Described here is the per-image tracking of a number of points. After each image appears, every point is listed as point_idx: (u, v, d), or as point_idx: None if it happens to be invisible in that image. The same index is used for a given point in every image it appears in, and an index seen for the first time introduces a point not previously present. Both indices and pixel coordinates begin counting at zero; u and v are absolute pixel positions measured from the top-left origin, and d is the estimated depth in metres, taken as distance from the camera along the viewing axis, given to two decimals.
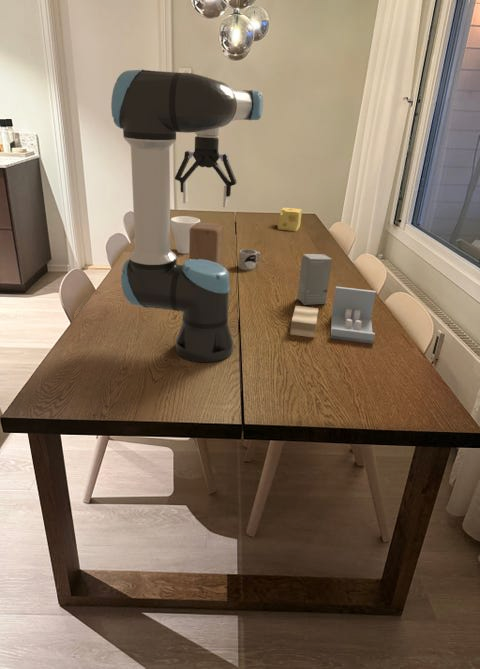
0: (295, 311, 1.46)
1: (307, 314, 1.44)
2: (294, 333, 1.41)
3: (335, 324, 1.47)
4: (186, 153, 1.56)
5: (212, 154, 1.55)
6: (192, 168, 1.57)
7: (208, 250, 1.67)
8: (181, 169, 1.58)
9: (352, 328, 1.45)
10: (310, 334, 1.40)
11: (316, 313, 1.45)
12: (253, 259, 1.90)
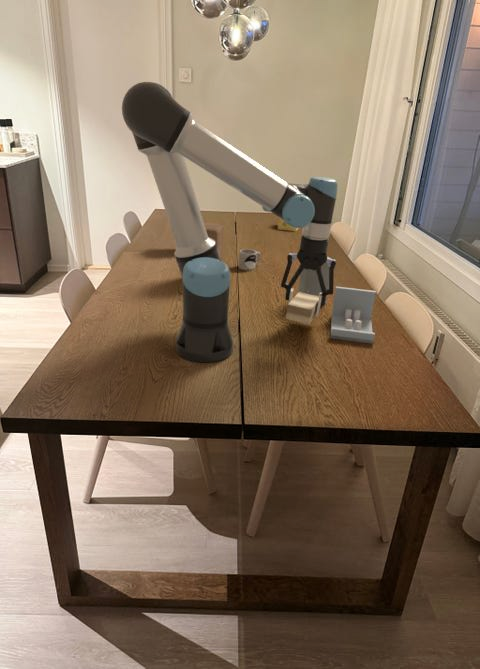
0: (296, 296, 1.44)
1: (306, 301, 1.42)
2: (290, 317, 1.39)
3: (335, 324, 1.47)
4: (289, 257, 1.36)
5: (321, 256, 1.35)
6: (298, 273, 1.38)
7: None
8: (286, 275, 1.39)
9: (352, 328, 1.45)
10: (305, 320, 1.38)
11: (316, 300, 1.43)
12: (253, 259, 1.90)
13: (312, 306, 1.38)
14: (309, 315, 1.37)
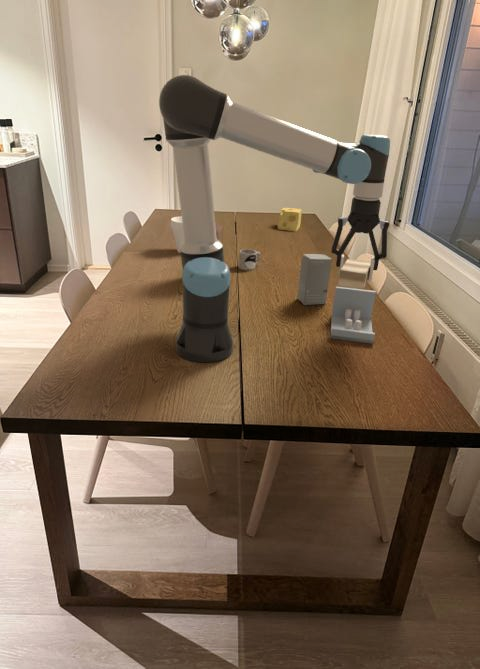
0: (346, 263, 1.40)
1: (358, 266, 1.38)
2: (342, 283, 1.35)
3: (335, 324, 1.47)
4: (340, 221, 1.32)
5: (373, 218, 1.30)
6: (349, 237, 1.34)
7: None
8: (337, 240, 1.35)
9: (352, 328, 1.45)
10: (359, 285, 1.34)
11: (368, 265, 1.38)
12: (253, 259, 1.90)
13: (365, 270, 1.34)
14: (363, 279, 1.33)
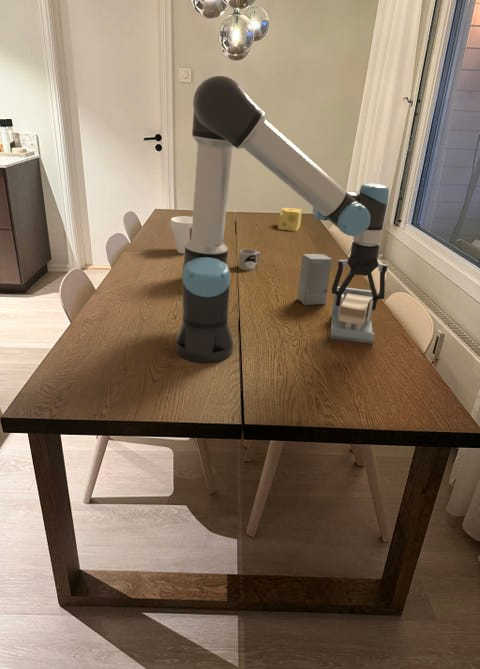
0: (346, 298, 1.45)
1: (358, 301, 1.42)
2: (342, 319, 1.40)
3: (335, 324, 1.47)
4: (340, 263, 1.38)
5: (372, 261, 1.36)
6: (349, 279, 1.39)
7: None
8: (337, 281, 1.40)
9: (352, 328, 1.45)
10: (358, 321, 1.38)
11: (367, 301, 1.43)
12: (253, 259, 1.90)
13: (365, 307, 1.39)
14: (363, 316, 1.37)
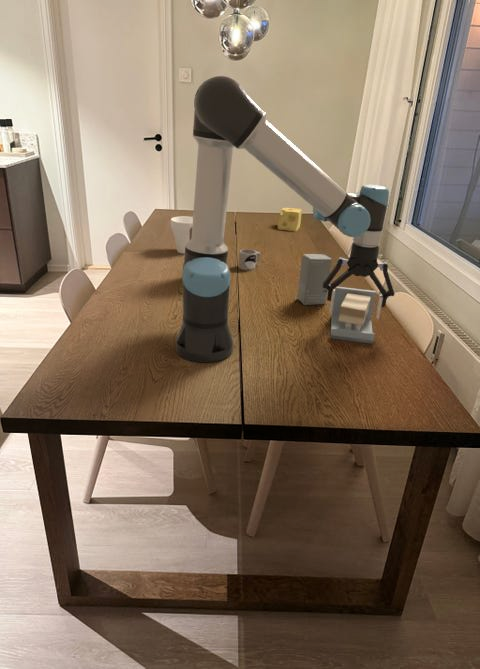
0: (346, 298, 1.45)
1: (358, 301, 1.42)
2: (342, 319, 1.40)
3: (335, 324, 1.47)
4: (340, 261, 1.37)
5: (371, 263, 1.36)
6: (345, 277, 1.39)
7: None
8: (331, 277, 1.40)
9: (352, 328, 1.45)
10: (358, 321, 1.38)
11: (367, 301, 1.43)
12: (253, 259, 1.90)
13: (365, 307, 1.39)
14: (363, 316, 1.37)
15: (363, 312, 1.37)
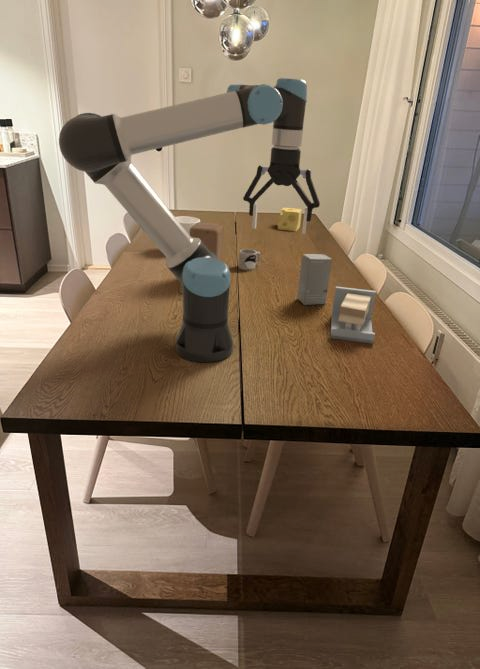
0: (346, 298, 1.45)
1: (358, 301, 1.42)
2: (342, 319, 1.40)
3: (335, 324, 1.47)
4: (259, 168, 1.26)
5: (292, 170, 1.25)
6: (266, 186, 1.27)
7: None
8: (252, 188, 1.28)
9: (352, 328, 1.45)
10: (358, 321, 1.38)
11: (367, 301, 1.43)
12: (253, 259, 1.90)
13: (365, 307, 1.39)
14: (363, 316, 1.37)
15: (363, 312, 1.37)
